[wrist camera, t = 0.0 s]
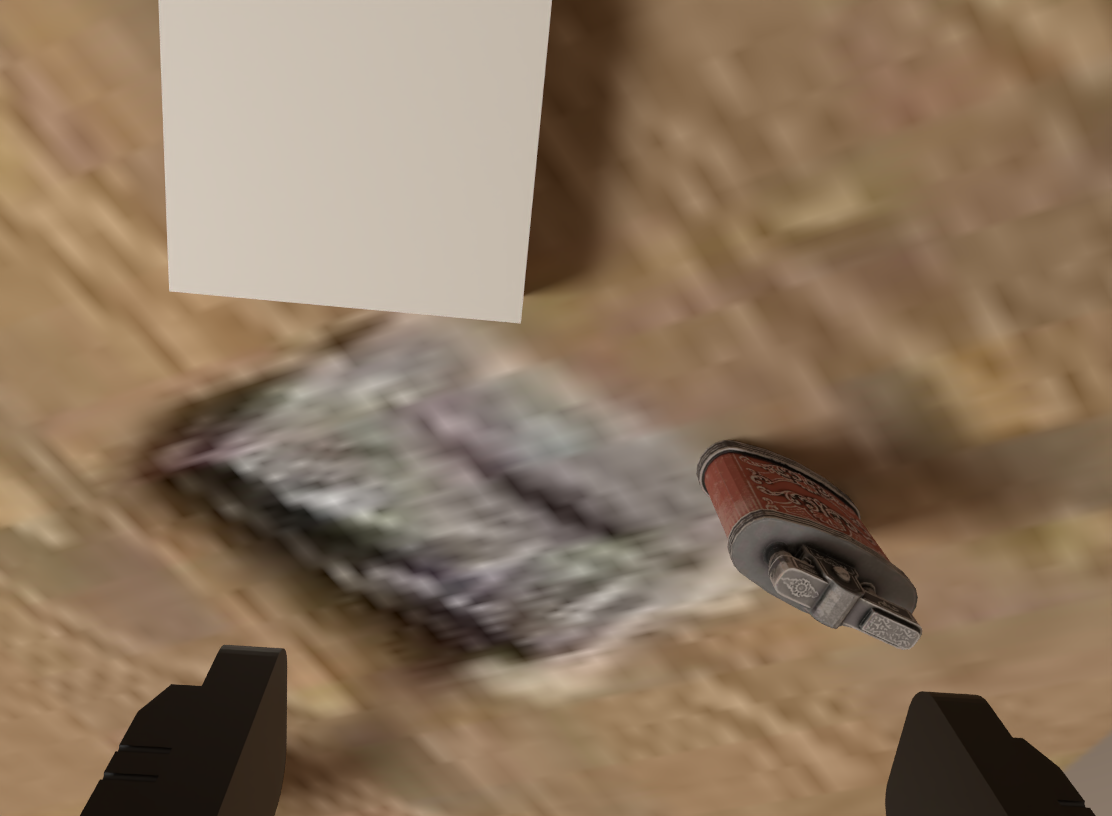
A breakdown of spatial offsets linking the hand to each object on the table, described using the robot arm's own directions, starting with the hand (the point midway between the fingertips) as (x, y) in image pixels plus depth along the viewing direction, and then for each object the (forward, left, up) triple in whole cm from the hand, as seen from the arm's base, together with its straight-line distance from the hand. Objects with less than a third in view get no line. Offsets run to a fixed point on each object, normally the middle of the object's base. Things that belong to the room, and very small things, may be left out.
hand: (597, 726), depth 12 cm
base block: (-4, -7, -29) cm, 30 cm away
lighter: (+10, +12, -30) cm, 33 cm away
